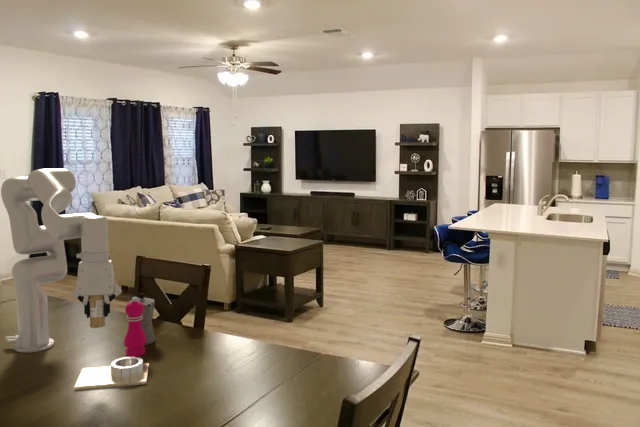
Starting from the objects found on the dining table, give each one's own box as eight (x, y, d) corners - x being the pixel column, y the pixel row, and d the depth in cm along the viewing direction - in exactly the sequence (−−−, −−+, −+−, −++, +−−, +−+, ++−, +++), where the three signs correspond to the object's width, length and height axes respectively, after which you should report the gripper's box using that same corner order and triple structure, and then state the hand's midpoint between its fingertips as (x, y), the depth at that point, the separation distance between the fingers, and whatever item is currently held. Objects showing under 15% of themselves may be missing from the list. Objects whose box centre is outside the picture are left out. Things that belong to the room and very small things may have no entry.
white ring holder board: (74, 390, 158) (73, 375, 158) (82, 371, 172) (82, 357, 171) (146, 383, 163) (146, 369, 163) (148, 365, 177) (148, 352, 176)
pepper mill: (139, 358, 183) (138, 300, 181) (120, 356, 184) (118, 299, 182) (150, 350, 190) (149, 295, 188) (131, 348, 191) (130, 293, 189)
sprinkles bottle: (87, 326, 165) (85, 283, 164) (101, 322, 169) (99, 280, 167) (94, 329, 162) (92, 285, 161) (108, 326, 166) (107, 282, 164)
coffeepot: (163, 343, 198) (162, 294, 196) (138, 349, 191) (137, 299, 189) (143, 332, 209) (142, 286, 207) (119, 337, 202) (118, 290, 200)
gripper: (62, 260, 157) (64, 321, 160) (123, 258, 161) (125, 318, 163) (68, 255, 165) (70, 314, 167) (126, 253, 169) (128, 311, 171)
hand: (97, 315), depth 165 cm, fingers closed on sprinkles bottle, 4 cm apart
